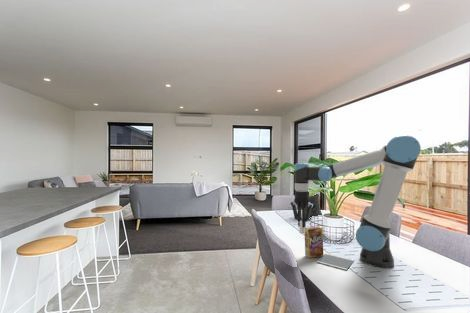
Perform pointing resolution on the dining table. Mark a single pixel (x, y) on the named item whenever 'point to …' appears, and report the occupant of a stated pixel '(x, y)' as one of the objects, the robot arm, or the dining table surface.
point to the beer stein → (314, 206)
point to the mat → (335, 261)
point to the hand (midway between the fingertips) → (301, 232)
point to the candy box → (313, 242)
